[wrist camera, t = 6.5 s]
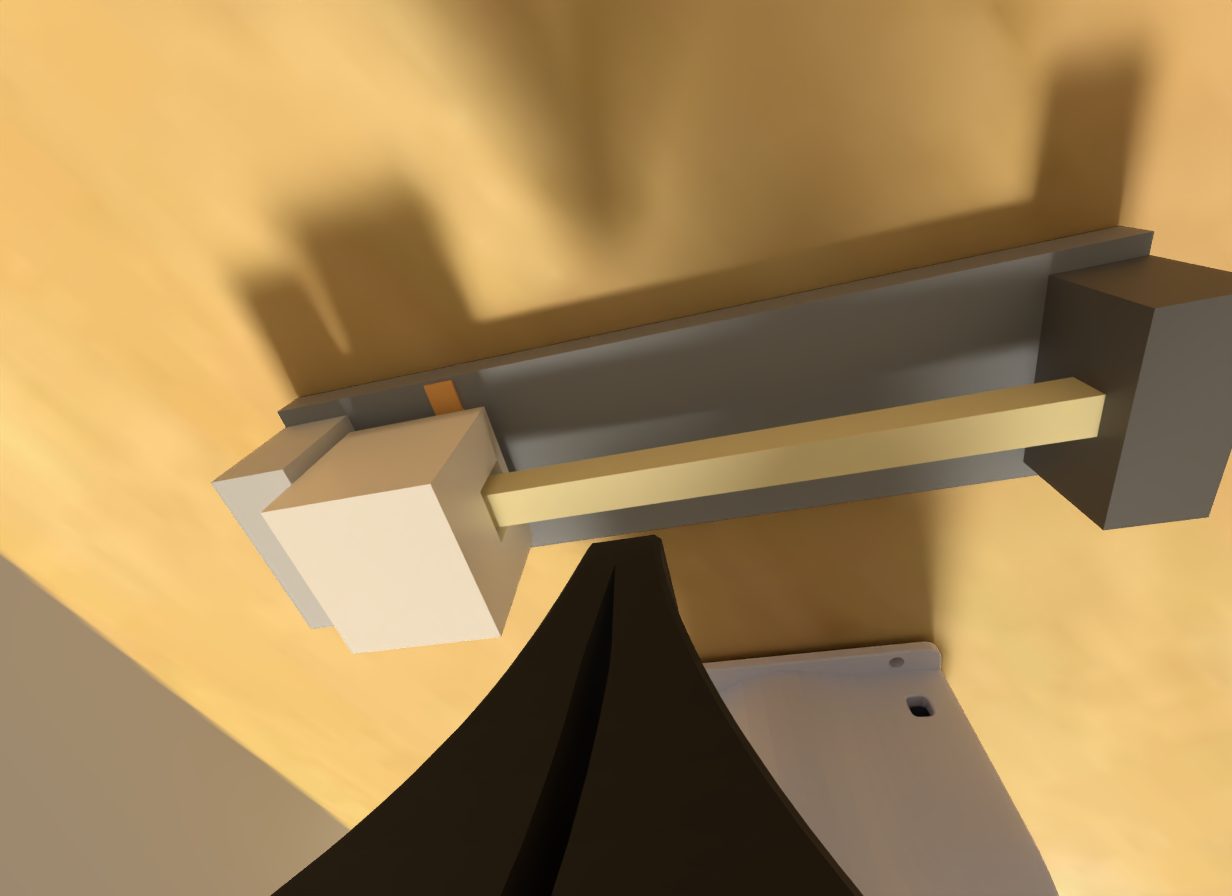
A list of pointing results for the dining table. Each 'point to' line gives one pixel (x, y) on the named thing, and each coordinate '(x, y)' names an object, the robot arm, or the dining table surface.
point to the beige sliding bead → (405, 534)
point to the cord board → (832, 401)
